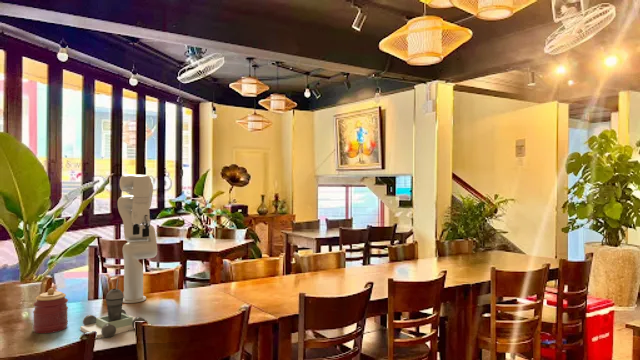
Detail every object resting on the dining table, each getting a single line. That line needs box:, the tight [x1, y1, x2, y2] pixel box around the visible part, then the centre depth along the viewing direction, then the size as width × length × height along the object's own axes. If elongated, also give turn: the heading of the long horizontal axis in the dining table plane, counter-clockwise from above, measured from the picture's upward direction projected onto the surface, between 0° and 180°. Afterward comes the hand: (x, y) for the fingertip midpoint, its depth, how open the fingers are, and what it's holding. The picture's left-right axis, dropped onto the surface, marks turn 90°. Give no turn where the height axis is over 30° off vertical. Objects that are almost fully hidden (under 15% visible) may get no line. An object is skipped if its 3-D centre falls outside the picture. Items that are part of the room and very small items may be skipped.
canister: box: [32, 287, 69, 334], centre depth 193 cm, size 13×13×18 cm
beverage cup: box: [105, 278, 124, 322], centre depth 195 cm, size 7×7×20 cm
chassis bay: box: [80, 309, 146, 339], centre depth 195 cm, size 21×22×5 cm
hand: (140, 235), depth 217 cm, fingers open, 9 cm apart
